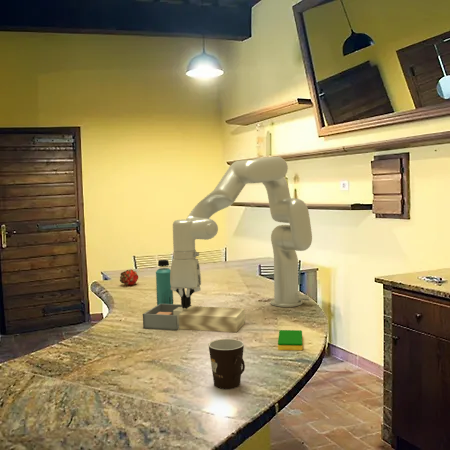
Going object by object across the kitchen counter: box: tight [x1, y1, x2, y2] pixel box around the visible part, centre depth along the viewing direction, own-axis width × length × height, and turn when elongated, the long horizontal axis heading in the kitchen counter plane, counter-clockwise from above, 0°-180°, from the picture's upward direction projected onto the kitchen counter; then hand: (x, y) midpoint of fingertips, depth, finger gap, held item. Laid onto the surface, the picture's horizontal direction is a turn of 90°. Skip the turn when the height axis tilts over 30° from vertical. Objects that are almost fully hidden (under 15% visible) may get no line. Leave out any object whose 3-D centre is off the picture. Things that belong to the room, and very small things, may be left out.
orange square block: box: [157, 312, 172, 315], centre depth 182 cm, size 5×5×3 cm
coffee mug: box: [208, 338, 246, 390], centre depth 125 cm, size 12×9×10 cm
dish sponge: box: [277, 329, 304, 351], centre depth 158 cm, size 7×14×2 cm, turn 172°
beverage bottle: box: [155, 259, 175, 306], centre depth 199 cm, size 6×7×20 cm
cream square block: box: [173, 307, 186, 325], centre depth 181 cm, size 5×5×3 cm
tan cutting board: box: [178, 305, 246, 333], centre depth 178 cm, size 20×12×5 cm, turn 74°
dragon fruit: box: [119, 268, 139, 287], centre depth 253 cm, size 8×8×12 cm
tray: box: [142, 303, 192, 331], centre depth 182 cm, size 12×15×5 cm
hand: (186, 307), depth 180 cm, fingers closed
